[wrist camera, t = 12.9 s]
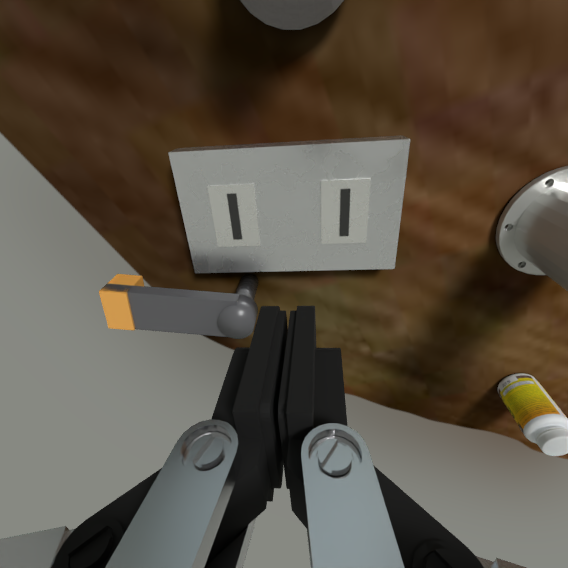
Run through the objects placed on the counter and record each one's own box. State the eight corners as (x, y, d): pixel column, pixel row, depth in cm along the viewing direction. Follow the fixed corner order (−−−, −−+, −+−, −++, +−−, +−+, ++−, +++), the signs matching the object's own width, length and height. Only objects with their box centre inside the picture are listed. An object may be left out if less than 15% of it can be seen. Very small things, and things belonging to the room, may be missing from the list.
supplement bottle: (487, 387, 51) (525, 449, 42) (518, 365, 48) (565, 426, 39) (512, 402, 52) (554, 465, 43) (544, 381, 49) (595, 444, 41)
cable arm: (259, 285, 38) (254, 306, 34) (259, 319, 41) (253, 343, 37) (117, 273, 39) (96, 294, 35) (125, 308, 41) (106, 330, 38)
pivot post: (257, 273, 43) (250, 298, 38) (259, 289, 44) (252, 315, 39) (239, 273, 43) (229, 299, 38) (241, 289, 45) (232, 315, 39)
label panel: (402, 135, 34) (411, 139, 31) (389, 257, 41) (395, 270, 38) (178, 148, 36) (167, 152, 33) (201, 262, 43) (194, 274, 40)
